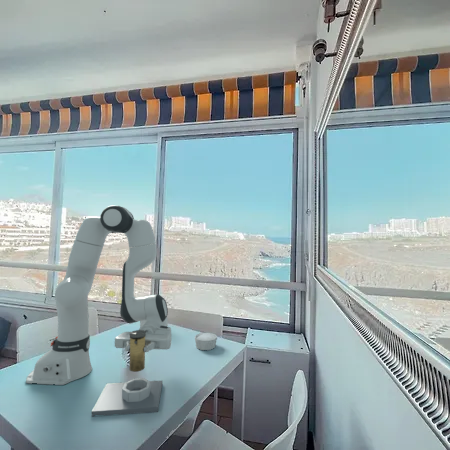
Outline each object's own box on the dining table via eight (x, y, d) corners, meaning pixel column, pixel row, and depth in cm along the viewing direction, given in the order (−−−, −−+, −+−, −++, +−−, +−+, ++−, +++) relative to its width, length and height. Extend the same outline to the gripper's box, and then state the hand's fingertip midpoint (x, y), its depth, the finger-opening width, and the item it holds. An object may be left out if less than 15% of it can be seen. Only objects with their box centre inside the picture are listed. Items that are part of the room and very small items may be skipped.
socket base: (91, 416, 86) (91, 401, 86) (106, 387, 102) (106, 375, 102) (157, 411, 89) (158, 397, 89) (162, 384, 105) (162, 372, 105)
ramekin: (196, 342, 145) (196, 332, 146) (217, 342, 145) (217, 332, 145) (193, 351, 134) (193, 340, 134) (216, 352, 134) (216, 341, 134)
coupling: (143, 373, 93) (144, 336, 93) (126, 374, 92) (127, 337, 92) (146, 362, 100) (147, 328, 100) (131, 363, 99) (131, 329, 100)
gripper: (123, 325, 110) (106, 339, 96) (174, 327, 109) (165, 341, 95) (122, 342, 110) (106, 358, 96) (174, 343, 109) (165, 360, 95)
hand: (136, 349), depth 95 cm, fingers closed on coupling, 5 cm apart
